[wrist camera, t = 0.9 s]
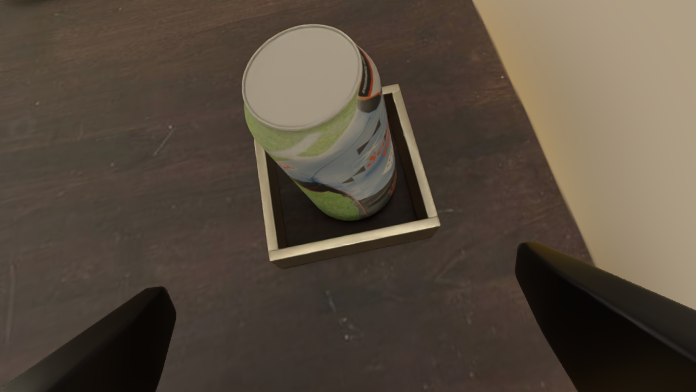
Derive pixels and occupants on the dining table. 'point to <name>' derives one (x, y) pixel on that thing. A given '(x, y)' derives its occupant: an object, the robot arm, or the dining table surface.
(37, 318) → the dining table surface
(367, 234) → the frame
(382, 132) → the beverage can
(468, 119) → the dining table surface
